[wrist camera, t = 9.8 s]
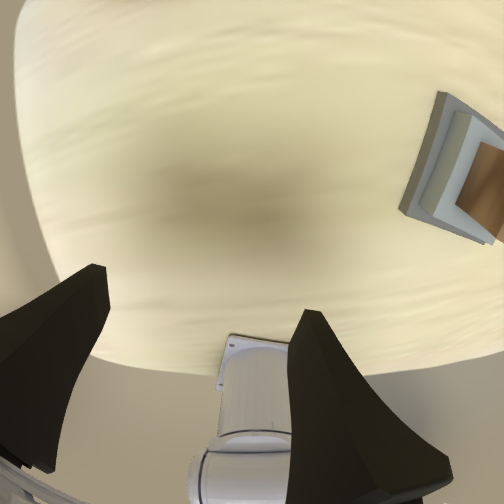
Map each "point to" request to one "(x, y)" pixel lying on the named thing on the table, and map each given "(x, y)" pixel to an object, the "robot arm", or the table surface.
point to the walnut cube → (485, 190)
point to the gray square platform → (429, 156)
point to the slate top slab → (458, 173)
